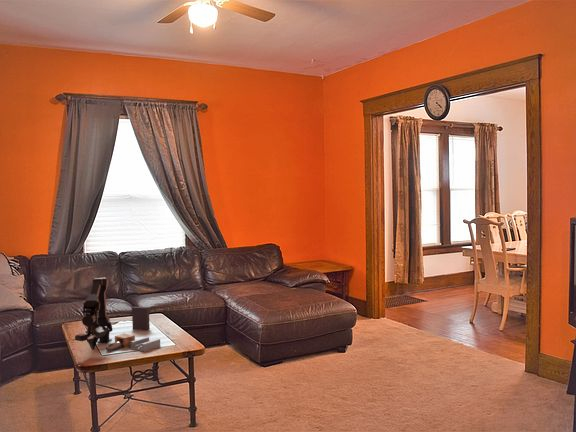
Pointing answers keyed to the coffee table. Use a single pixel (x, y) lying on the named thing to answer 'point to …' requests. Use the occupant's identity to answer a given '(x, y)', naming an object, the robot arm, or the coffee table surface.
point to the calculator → (140, 318)
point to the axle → (114, 346)
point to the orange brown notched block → (125, 339)
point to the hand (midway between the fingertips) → (93, 349)
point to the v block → (145, 344)
